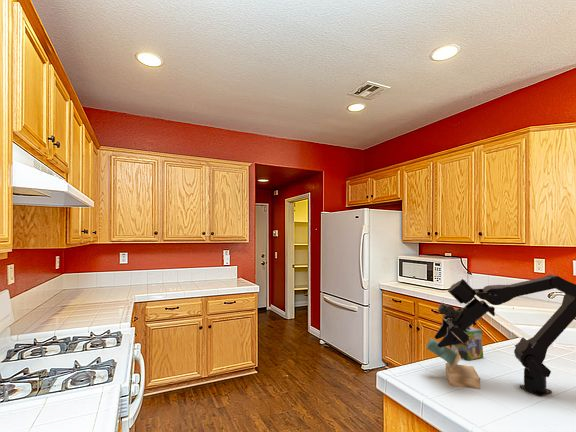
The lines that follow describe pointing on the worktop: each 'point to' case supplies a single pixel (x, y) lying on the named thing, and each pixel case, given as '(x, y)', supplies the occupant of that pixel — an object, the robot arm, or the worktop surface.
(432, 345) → the tall teal pillar
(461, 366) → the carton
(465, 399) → the worktop surface
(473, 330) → the chalk box
